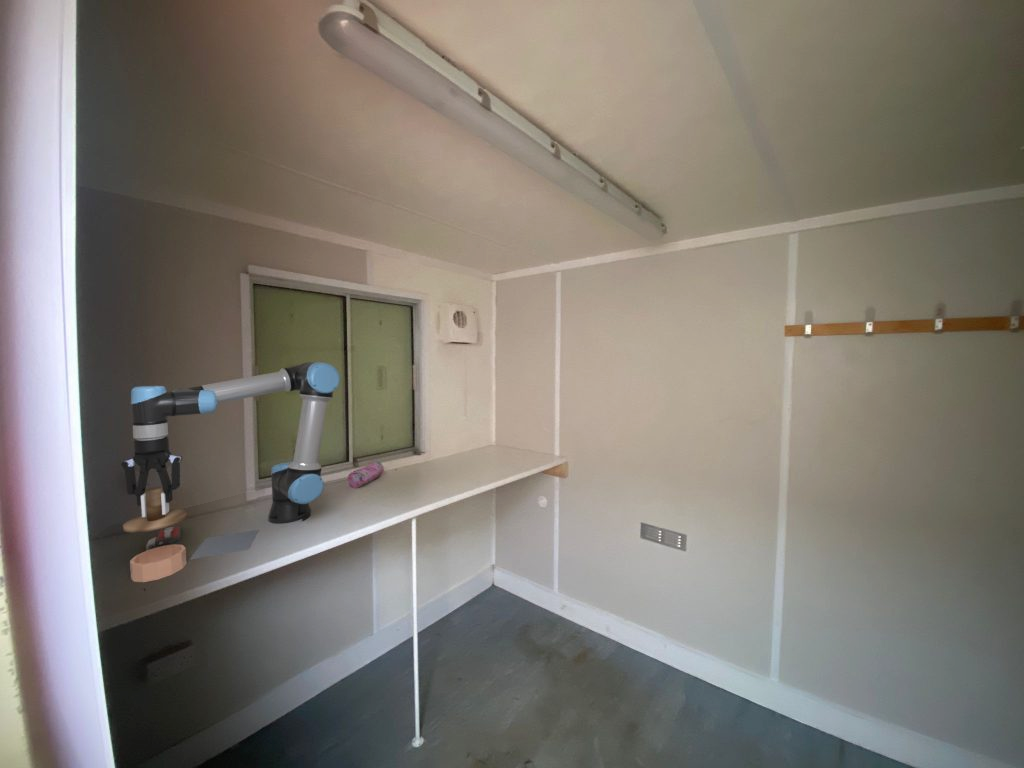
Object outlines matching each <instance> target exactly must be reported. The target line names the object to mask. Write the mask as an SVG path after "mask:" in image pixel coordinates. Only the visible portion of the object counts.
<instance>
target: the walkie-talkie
mask: <svg viewBox="0 0 1024 768" xmlns="http://www.w3.org/2000/svg"><path fill="white" fill-rule="evenodd" d="M182 529H183V528H182V526H181V525H175V526H174V525H173V526H168V527H165V528H161V529H159V531H158V532H157V533H156V535H155V537H152V538H151V539H149V540H148V541H147V543H146V545H145V548H146V551H147V550H150V549H153V548H156V547H159V546H163V545H166V544H167V545H171V544H175V543H177V542H179V541H180V540H181V539H182Z"/></svg>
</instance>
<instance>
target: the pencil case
mask: <svg viewBox="0 0 1024 768" xmlns="http://www.w3.org/2000/svg"><path fill="white" fill-rule="evenodd" d="M384 469H385V468H384V465H383V464H382V463H381V462H379V461H373V462H372V463H370V464H368V465H366V466H364V467H361V468H358V469H355V470H353V471H351V472H350V473H349V474H348V476H347V481H348V486H349V488H352V489H358V488H360V487H362V486H364V485H367V484H369V483H370V482H372V481H373V480H375V479H377V478H379V477H381V476H382V475H383V474H384Z"/></svg>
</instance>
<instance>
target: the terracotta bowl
mask: <svg viewBox="0 0 1024 768" xmlns="http://www.w3.org/2000/svg"><path fill="white" fill-rule="evenodd" d="M186 564H187V549H186V547H185V546H184V545H183V544H175V543H172V544H167V545H166V544H165V545H159V546H156V547H154V548H153V549H150V550H147V549H146V550H145V551H143V552H141V553H138V554H136V555H134V557H132V558H131V559H130V560H129V568H130V579H131V580H132V582H135V583H145V582H146V583H147V582H151V581H158V580H161V579H164V578H166V577H168V576H172V575H174V574H176V573H177V572H179V571H181V570H182V569H184V567H185V566H186Z"/></svg>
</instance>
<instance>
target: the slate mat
mask: <svg viewBox="0 0 1024 768" xmlns="http://www.w3.org/2000/svg"><path fill="white" fill-rule="evenodd" d="M258 533H259V529H256V530H247V531H242V532H236V533H227V534H224V535H223V534H222V535H217V536H215V535H214V536H210V537H206V538H205V539H204V540H203V541H202V543H201V544H200V545H199V547H198V548H197V549H196V550H195V552H194V553H193V554H192V555H191V557H190V558H189V559H188V560H189V561H191V560H194V559H201V558H208V557H212V556H219V555H224V554H231V553H236V552H242V551H248V550H250V548H251V547H252V544H253V542H254V540H255V538H256V537H257V534H258Z"/></svg>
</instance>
